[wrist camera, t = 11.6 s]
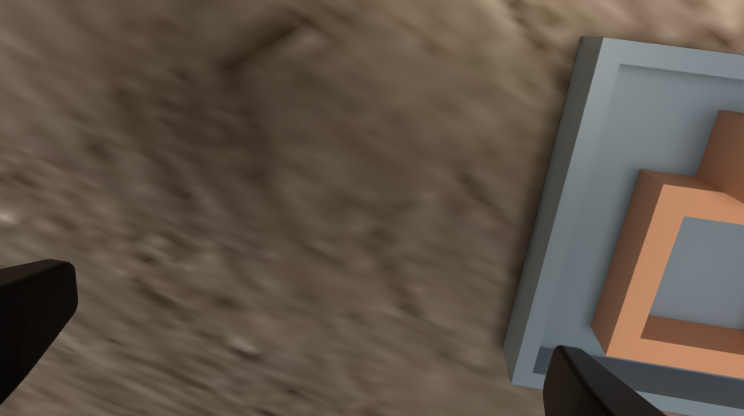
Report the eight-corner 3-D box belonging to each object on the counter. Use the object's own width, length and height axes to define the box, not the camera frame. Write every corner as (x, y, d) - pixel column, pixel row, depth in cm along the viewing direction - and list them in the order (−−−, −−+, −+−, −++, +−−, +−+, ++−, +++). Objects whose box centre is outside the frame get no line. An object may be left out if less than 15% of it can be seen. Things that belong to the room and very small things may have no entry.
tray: (812, 400, 22) (858, 444, 19) (502, 347, 23) (510, 383, 20) (979, 87, 17) (1066, 96, 15) (581, 36, 18) (603, 37, 16)
